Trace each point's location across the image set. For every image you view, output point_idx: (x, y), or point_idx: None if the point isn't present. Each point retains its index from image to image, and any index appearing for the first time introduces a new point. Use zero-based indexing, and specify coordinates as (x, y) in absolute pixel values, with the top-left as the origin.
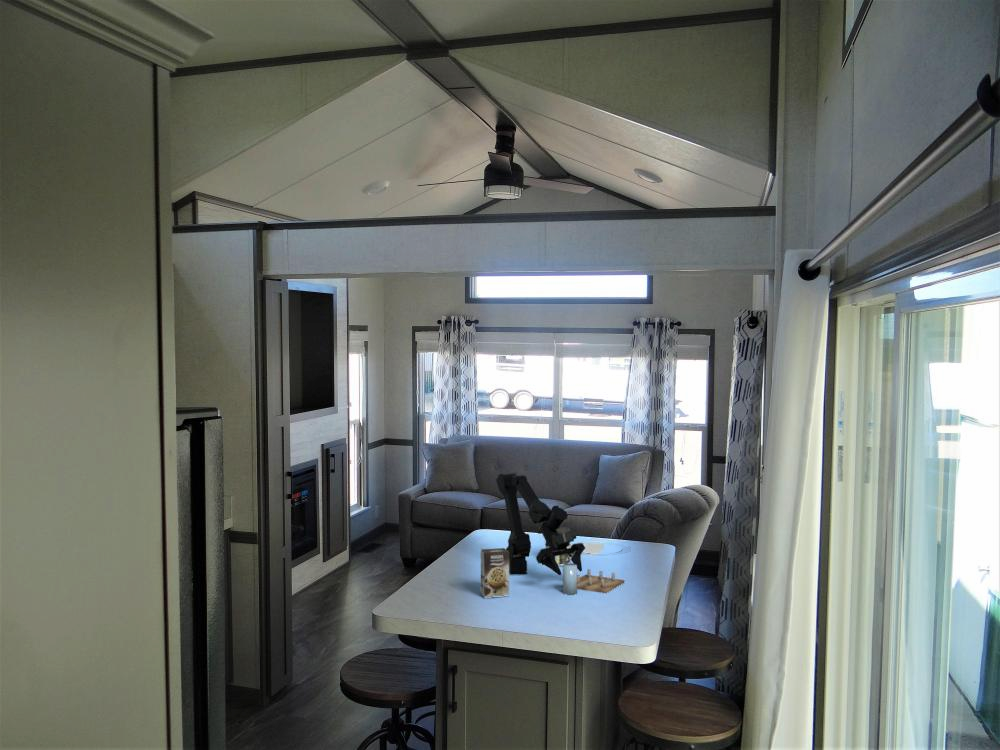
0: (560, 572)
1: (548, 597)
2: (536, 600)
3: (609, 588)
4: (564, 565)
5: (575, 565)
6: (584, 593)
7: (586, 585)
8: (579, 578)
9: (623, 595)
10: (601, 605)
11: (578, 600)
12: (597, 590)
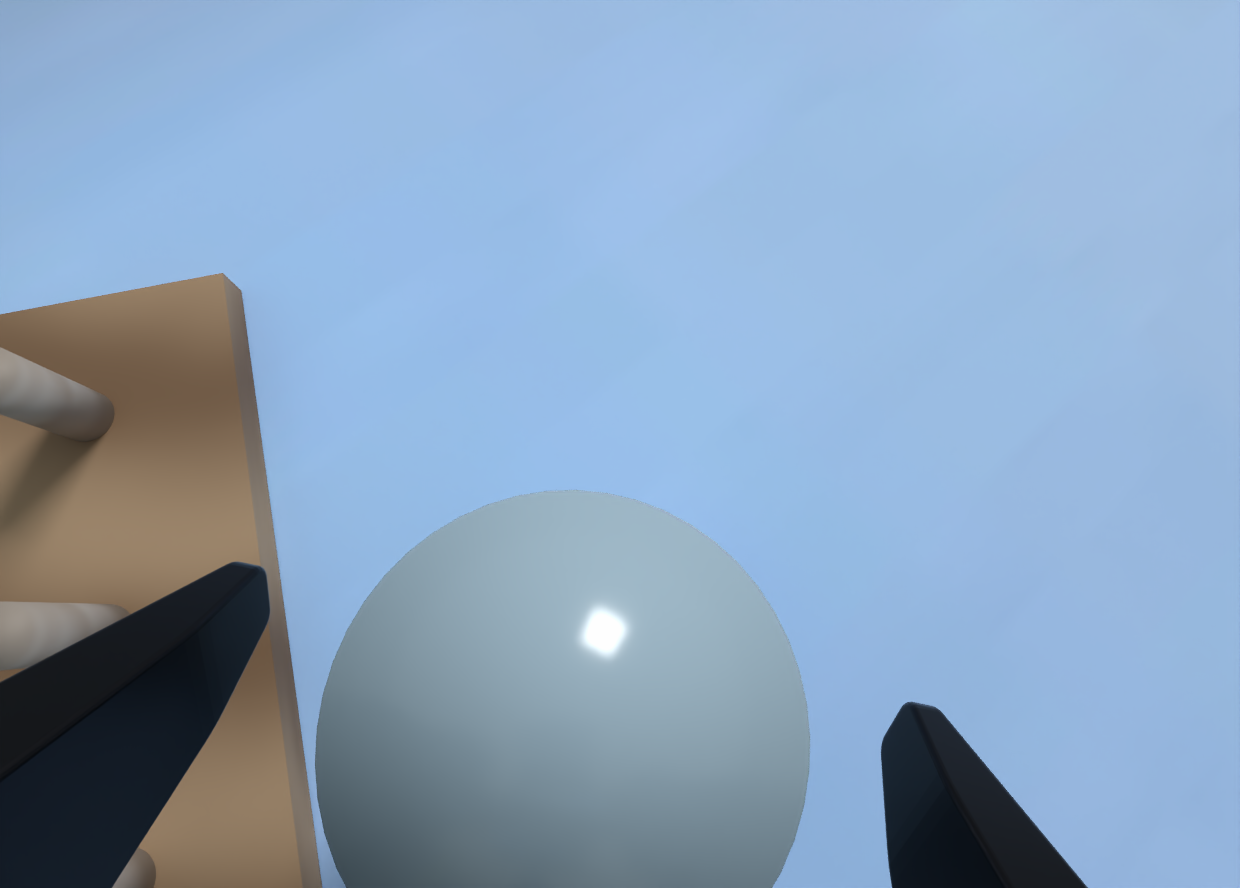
0: (944, 730)
1: None
2: (1190, 775)
3: (96, 302)
4: (730, 854)
5: (465, 568)
6: (440, 504)
7: None
8: None
9: (185, 95)
10: (705, 59)
11: (753, 357)
12: (247, 412)
